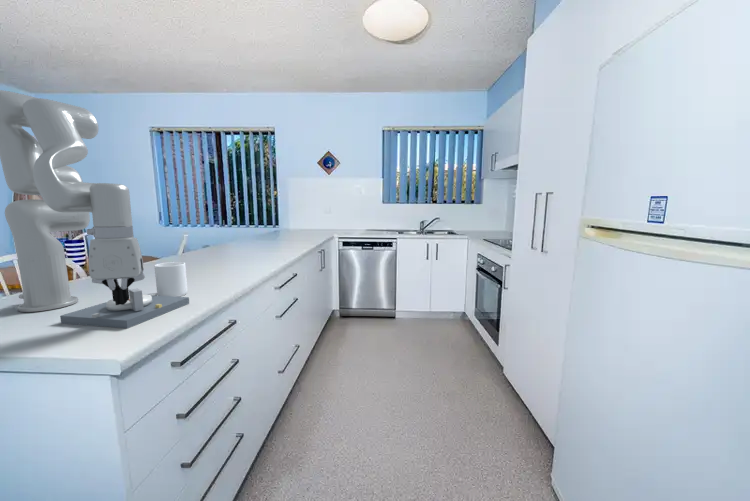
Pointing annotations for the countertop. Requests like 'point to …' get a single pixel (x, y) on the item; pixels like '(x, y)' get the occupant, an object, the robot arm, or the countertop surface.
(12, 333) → the countertop surface
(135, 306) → the dial
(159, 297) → the panel
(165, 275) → the mug
